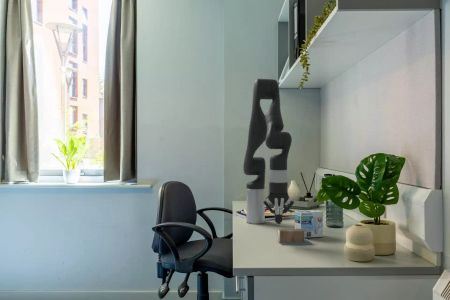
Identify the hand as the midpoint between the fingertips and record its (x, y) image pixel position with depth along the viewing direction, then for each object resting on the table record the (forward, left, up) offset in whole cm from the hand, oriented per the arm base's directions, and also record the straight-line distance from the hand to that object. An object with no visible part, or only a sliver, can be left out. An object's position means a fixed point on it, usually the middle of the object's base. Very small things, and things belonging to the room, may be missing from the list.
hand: (278, 223), depth 163 cm
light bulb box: (-9, +15, -8) cm, 19 cm away
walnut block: (0, 0, -5) cm, 5 cm away
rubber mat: (0, +7, -8) cm, 10 cm away
